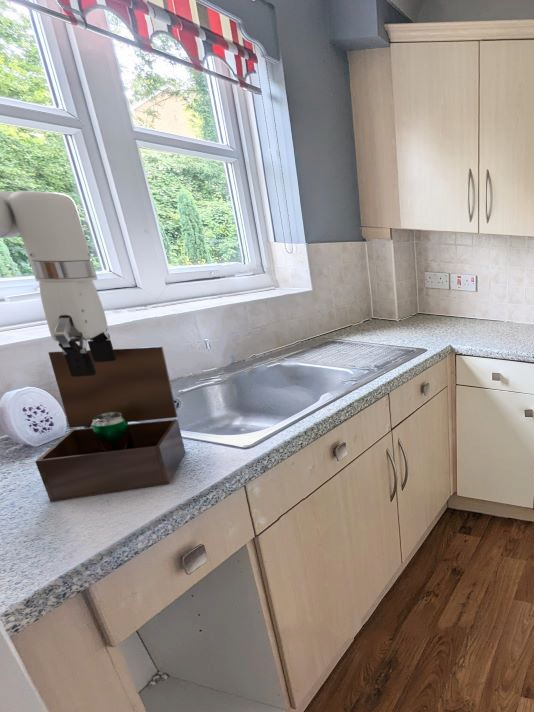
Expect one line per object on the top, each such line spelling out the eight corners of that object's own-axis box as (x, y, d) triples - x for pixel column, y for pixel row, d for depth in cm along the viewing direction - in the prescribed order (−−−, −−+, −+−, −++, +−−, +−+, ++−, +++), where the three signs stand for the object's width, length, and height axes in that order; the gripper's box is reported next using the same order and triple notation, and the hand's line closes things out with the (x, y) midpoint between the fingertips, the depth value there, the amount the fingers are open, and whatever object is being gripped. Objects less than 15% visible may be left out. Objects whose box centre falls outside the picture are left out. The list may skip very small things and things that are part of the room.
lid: (161, 347, 92) (162, 346, 93) (48, 352, 85) (50, 351, 86) (176, 417, 96) (177, 416, 97) (69, 428, 89) (71, 426, 90)
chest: (169, 484, 87) (159, 446, 85) (50, 501, 80) (34, 461, 78) (185, 452, 99) (177, 418, 97) (83, 465, 92) (71, 429, 90)
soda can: (140, 463, 93) (125, 409, 89) (141, 473, 89) (125, 417, 85) (107, 470, 90) (90, 414, 86) (106, 481, 86) (88, 423, 82)
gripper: (59, 267, 82) (87, 357, 88) (6, 276, 68) (44, 384, 74) (111, 267, 85) (136, 354, 91) (72, 276, 71) (104, 379, 77)
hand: (95, 367), depth 83 cm, fingers open, 9 cm apart
